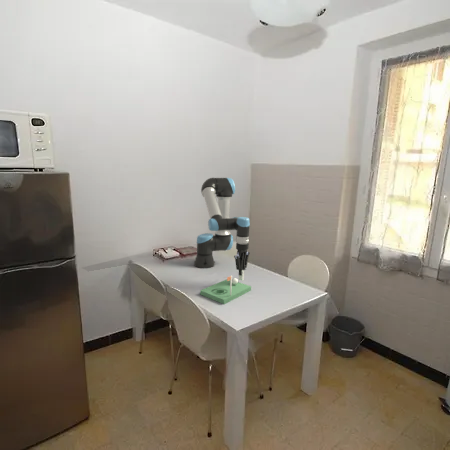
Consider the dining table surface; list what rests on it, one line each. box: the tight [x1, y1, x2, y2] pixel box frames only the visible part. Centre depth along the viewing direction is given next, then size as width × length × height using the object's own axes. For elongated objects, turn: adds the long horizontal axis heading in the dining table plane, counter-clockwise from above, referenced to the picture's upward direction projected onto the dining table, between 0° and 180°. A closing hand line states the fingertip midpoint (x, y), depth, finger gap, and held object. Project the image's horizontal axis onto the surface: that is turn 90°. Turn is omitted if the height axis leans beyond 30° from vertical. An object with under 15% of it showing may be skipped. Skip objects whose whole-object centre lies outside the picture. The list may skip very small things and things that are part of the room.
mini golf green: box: [199, 275, 252, 305], centre depth 172 cm, size 25×18×14 cm
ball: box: [232, 277, 239, 285], centre depth 178 cm, size 4×4×4 cm
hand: (241, 279), depth 183 cm, fingers closed
